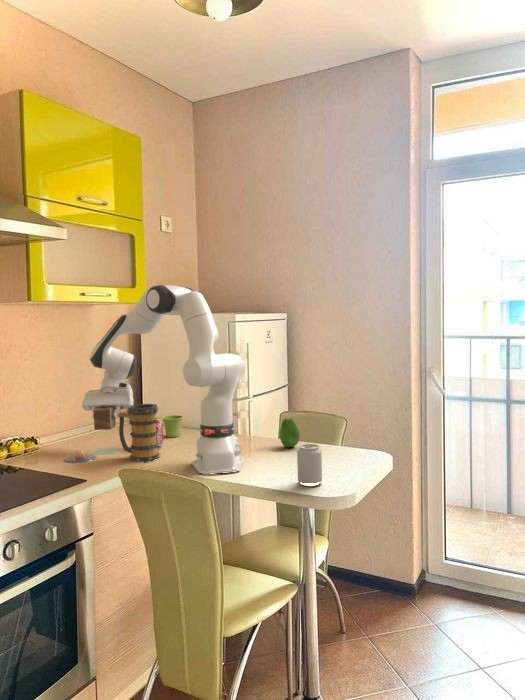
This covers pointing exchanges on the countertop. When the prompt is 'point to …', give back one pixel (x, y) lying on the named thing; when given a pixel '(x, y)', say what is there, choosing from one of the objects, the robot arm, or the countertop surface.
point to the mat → (105, 451)
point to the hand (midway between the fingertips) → (104, 417)
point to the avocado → (289, 433)
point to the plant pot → (173, 425)
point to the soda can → (159, 433)
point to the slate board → (72, 460)
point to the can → (309, 463)
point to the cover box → (104, 418)
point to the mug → (141, 432)
